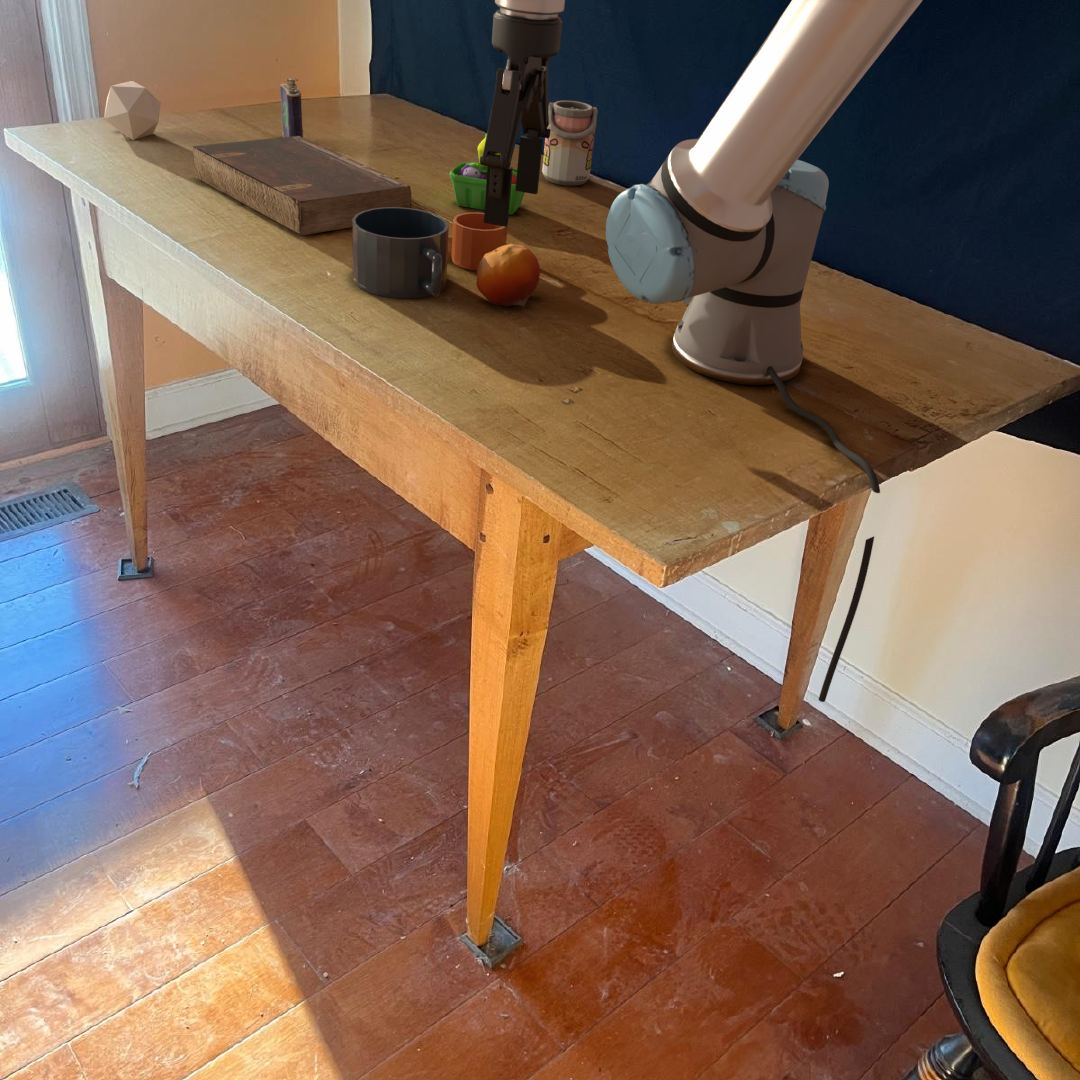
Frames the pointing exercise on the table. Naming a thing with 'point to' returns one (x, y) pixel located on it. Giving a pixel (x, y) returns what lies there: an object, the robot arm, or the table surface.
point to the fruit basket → (479, 184)
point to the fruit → (508, 275)
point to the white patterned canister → (569, 142)
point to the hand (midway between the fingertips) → (511, 207)
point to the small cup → (474, 239)
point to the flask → (291, 109)
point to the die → (132, 110)
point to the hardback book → (297, 182)
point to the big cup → (400, 252)
